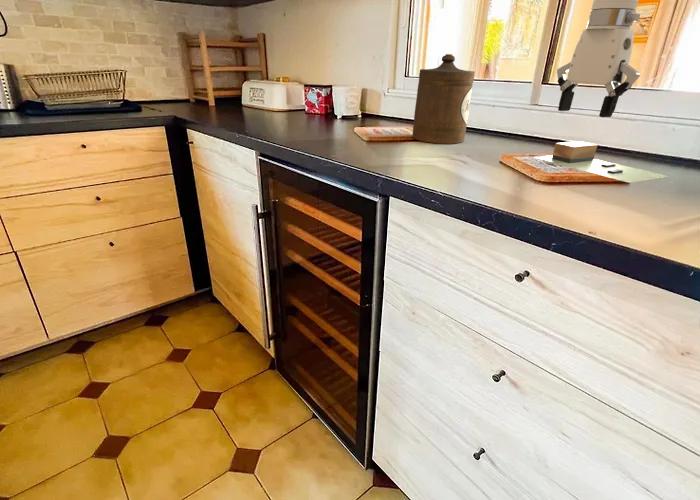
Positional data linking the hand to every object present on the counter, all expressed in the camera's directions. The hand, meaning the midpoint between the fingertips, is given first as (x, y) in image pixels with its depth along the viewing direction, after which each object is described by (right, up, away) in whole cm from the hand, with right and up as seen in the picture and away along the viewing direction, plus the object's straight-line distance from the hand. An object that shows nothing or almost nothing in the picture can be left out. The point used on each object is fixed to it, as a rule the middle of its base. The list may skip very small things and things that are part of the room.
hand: (583, 113), depth 85 cm
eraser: (0, -9, +4) cm, 10 cm away
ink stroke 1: (+5, -11, -1) cm, 12 cm away
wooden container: (-25, +3, +30) cm, 39 cm away
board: (+2, -12, 0) cm, 13 cm away
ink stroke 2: (+3, -14, -5) cm, 15 cm away
